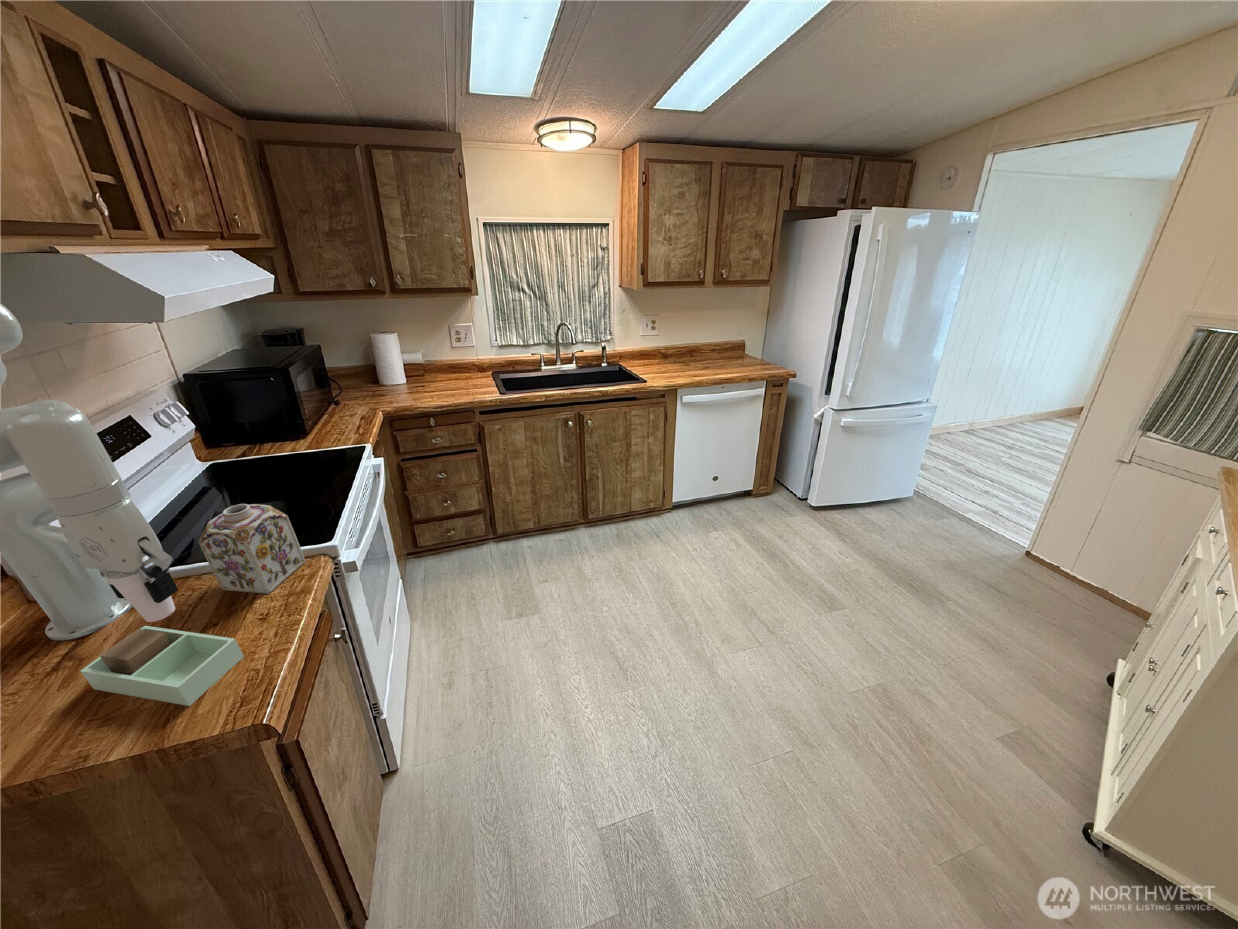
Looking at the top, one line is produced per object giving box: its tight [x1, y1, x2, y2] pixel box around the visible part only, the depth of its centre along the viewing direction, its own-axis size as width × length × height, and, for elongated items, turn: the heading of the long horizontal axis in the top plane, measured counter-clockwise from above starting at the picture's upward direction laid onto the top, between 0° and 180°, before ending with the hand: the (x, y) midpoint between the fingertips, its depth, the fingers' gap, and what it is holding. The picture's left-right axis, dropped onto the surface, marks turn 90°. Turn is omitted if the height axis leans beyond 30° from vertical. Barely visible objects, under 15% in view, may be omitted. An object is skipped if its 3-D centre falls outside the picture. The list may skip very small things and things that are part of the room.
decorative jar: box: [198, 503, 306, 595], centre depth 104 cm, size 12×12×18 cm
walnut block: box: [99, 628, 172, 676], centre depth 83 cm, size 6×6×6 cm
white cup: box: [104, 556, 176, 623], centre depth 74 cm, size 6×6×14 cm
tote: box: [80, 625, 245, 707], centre depth 83 cm, size 20×10×5 cm, turn 80°
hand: (148, 593), depth 76 cm, fingers closed on white cup, 6 cm apart
